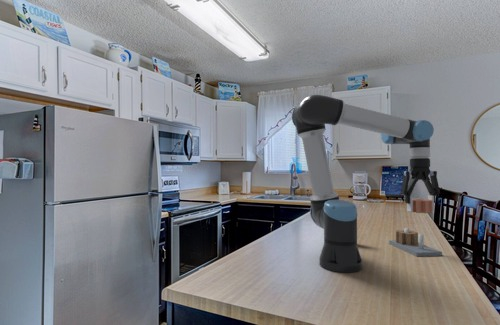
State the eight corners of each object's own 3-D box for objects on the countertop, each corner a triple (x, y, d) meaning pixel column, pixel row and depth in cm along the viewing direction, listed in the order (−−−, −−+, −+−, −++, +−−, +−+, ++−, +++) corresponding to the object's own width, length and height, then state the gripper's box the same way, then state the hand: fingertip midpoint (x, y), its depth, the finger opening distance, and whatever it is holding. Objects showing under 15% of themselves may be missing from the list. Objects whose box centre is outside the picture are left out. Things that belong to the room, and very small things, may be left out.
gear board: (442, 255, 121) (441, 235, 121) (416, 256, 120) (416, 236, 120) (411, 243, 141) (411, 226, 141) (389, 243, 140) (388, 226, 140)
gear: (423, 209, 131) (423, 198, 131) (437, 213, 122) (437, 200, 122) (404, 210, 130) (404, 198, 130) (417, 213, 121) (417, 201, 121)
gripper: (437, 158, 131) (437, 209, 130) (390, 158, 129) (391, 210, 129) (450, 157, 123) (451, 211, 123) (400, 157, 121) (401, 212, 121)
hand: (420, 211), depth 126 cm, fingers closed on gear, 9 cm apart
